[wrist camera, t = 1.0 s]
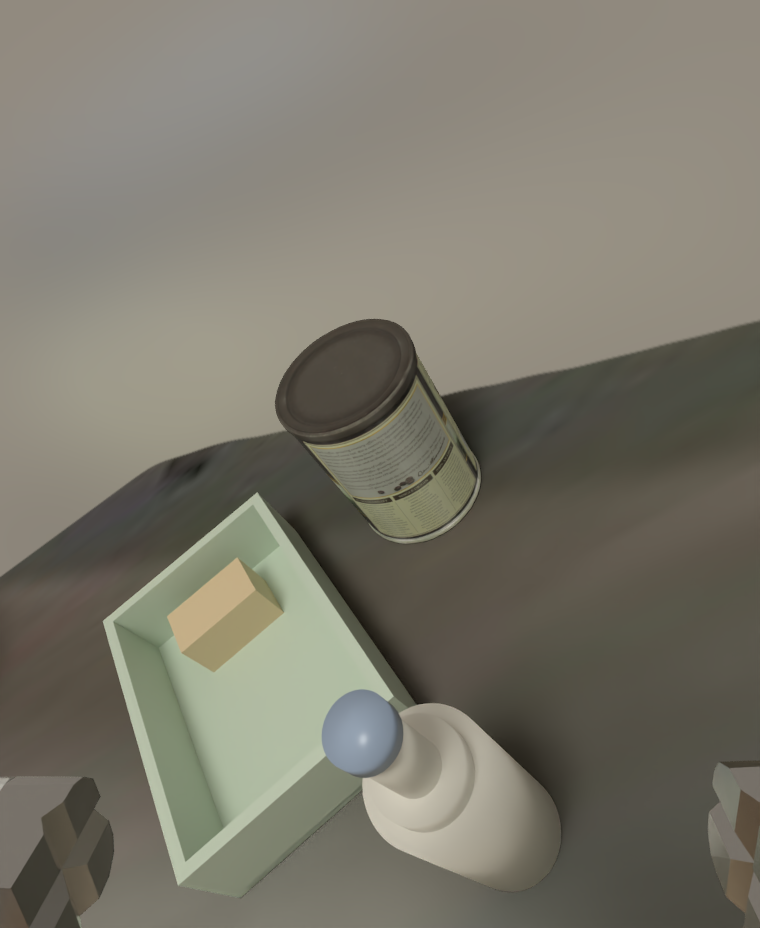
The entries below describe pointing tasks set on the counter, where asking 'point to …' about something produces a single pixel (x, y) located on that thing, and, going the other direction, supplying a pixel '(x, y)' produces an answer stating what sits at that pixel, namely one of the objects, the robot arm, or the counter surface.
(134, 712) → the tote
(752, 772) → the robot arm
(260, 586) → the butter block
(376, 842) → the counter surface
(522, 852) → the milk bottle
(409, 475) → the coffee can
